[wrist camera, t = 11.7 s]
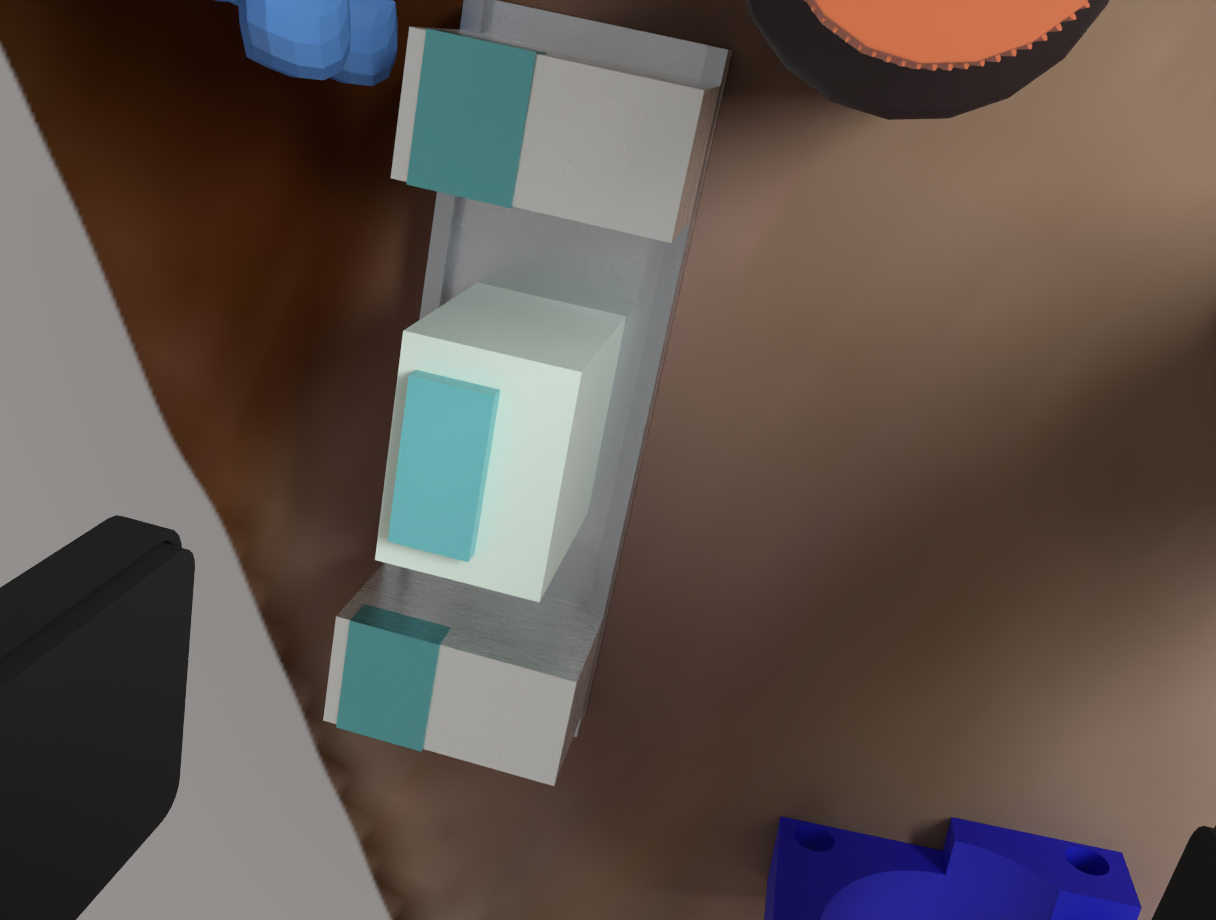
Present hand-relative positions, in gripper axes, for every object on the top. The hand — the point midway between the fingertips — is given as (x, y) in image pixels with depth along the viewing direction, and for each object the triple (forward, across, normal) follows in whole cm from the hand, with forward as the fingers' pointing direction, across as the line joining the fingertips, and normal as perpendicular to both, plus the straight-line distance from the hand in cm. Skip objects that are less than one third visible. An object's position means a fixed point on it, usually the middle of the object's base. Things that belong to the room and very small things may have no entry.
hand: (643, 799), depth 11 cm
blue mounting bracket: (+29, -11, +20) cm, 37 cm away
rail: (+28, +7, +6) cm, 30 cm away
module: (+27, +7, +6) cm, 29 cm away
